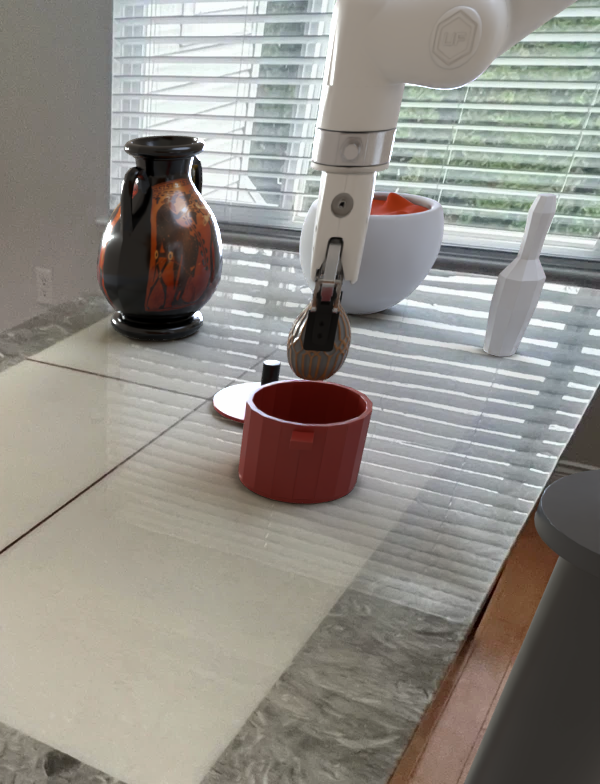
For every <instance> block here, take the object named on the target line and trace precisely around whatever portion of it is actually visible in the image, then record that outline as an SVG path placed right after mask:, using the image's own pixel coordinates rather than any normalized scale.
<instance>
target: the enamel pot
mask: <svg viewBox="0 0 600 784" xmlns="http://www.w3.org/2000/svg"><path fill="white" fill-rule="evenodd" d="M373 405H374V404H373V401H372V400H371V399H370V398H369V396H367V395H366V394H365V393H363V392H362V391H359V390H358V389H356V388H354V387H351V386H347V385H344V384H341V383H337V382H334V381H333V382H332V381H326V380H321V381H310V380H304V379H293V378H292V379H285V380H278V381H276V382H272V383H269V384H265V385H262V386H259V387H257V388H256V389H254V390H253V391H252V392H250V393H249V395H248V398H247V401H246V409H245V418H244V423H243V426H242V427H243V428H242V435H241V443H240V452H239V461H238V469H237V472H238V473H237V474H238V478H239V479H238V480H239V481H240V482H241V484H242V485H243V486H244V487H245V488H246V489H248V490H249V491H250V492H252V493H254V494H256V495H258V496H261V497H264V498H267V499H268V500H269V499H270V500H273V501H278V502H283V503H289V504H299V505H301V504H302V505H303V504H304V505H306V504H308V505H309V504H321V503H327V502H333V501H336V500H339V499H342V498H344V497H345V496H347V495H348V494H350V493H351V492H352V491H353V490H354V488H355V487H356V484H357V482H358V477H359V473H360V468H361V464H362V461H363V460H362V459H363V456H364V451H365V447H366V446H365V445H366V441H367V436H368V432H369V427H370V423H371V418H372V413H373V407H374V406H373Z"/></svg>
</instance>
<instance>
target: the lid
mask: <svg viewBox="0 0 600 784" xmlns="http://www.w3.org/2000/svg"><path fill="white" fill-rule="evenodd" d="M281 365H282V362H281V361H280V360H277V359H267V360H264V361H263V362H262V371H261V379H260V381H259V382H257V381H256V382H245V383H239V384H234V385H230V386H228V387H227V386H226V387H225V388H223V389H220V390H219V391H218V392H217V393H216V394H214V396H213V398H212V407H213V409H214V410H215V411H216V413H218V414H219V415H221V416H222V417H223V418H226V419H228V420H230V421H233V422H237V423H240V424H244V418H245V409H246V401H247V398H248V395H249V393H250V392H252V391H253V390H254V389H256V388H257V387H259V386H262V385H265V384H269V383H272V382H276V381H280V373H281Z"/></svg>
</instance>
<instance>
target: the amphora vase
mask: <svg viewBox="0 0 600 784" xmlns="http://www.w3.org/2000/svg"><path fill="white" fill-rule="evenodd" d="M206 146H207V145H206V142H205V141H204V140H203V139H202V138H199V137H196V136H191V135H190V136H189V135H173V134H172V135H168V134H167V135H150V136H141V137H136V138H131V139H130V140H127V141H126V142H125V144H124V146H123V150H124V152H125V153H126V154H127V155H129V156H131V157H132V158H134V160H135V166H132V167H129V169H127V170H126V172H125V174H124V177H123V180H122V182H121V190H120V197H119V199H120V201H119V203H117V205H116V207H115V208H114V209H113V211H112V212H111V214H110V216H109V218H108V219H107V222H106V224H105V227H104V228H103V231H102V235H101V238H100V240H99V241H100V242H99V243H98V244H99V245H98V250H97V257H96V280H97V282H98V286H99V288H100V291H101V293H102V294H103V296H104V298H105V300H106V301H107V303H108V304H109V306H111V308H112V309H113V310H114V312H113V314H112V315H111V318H110V326H112V329H113V330H114V331H115V332H117V333H119V335H122V336H124V337H126V338H130V339H134V340H140V341H151V342H152V341H154V342H155V341H157V342H162V341H172V340H177V339H178V340H179V339H182V338H186V337H188V336H191V335H192V334H196V332H198V331H199V330H200V328H202V326H203V324H204V316H203V314H202V313H201V312H200V311H201V310H202V309H203V307H204V306H205V305H206V304H208V302H209V301H210V300H211V298H212V297H213V296H214V295H215V292H216V291H217V290H218V287H219V285H220V282H221V279H222V273H223V265H224V260H223V259H224V258H223V244H222V242H223V241H222V236H221V231H220V228H219V225H218V222H217V218H216V217H215V214H214V213H213V211H212V209H211V208H210V206H209V205H208V204H207V202H206V200H204V198H203V197H202V194H203V193H202V192H203V182H204V181H203V166H202V162H201V159H200V158H199V157H198V155H199V154H201V153H203V152H204V151H205V150H206Z"/></svg>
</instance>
